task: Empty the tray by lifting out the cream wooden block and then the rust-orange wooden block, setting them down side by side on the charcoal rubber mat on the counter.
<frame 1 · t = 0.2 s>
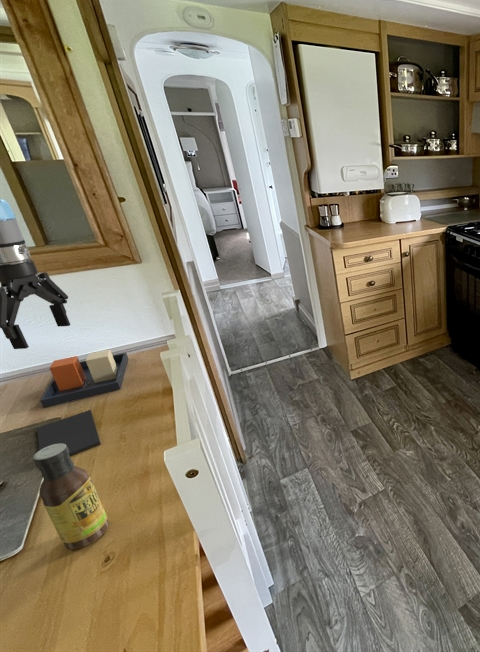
hand: (44, 336, 103), 19 cm above the table, tool pointing down, fingers open, 13 cm apart
tray: (91, 382, 116), on the table
sauce bottle: (89, 535, 71), on the table
mat: (68, 437, 94), on the table
cream block: (106, 377, 118), point 1 cm above the table, touching tray
rust block: (73, 384, 114), point 1 cm above the table, touching tray
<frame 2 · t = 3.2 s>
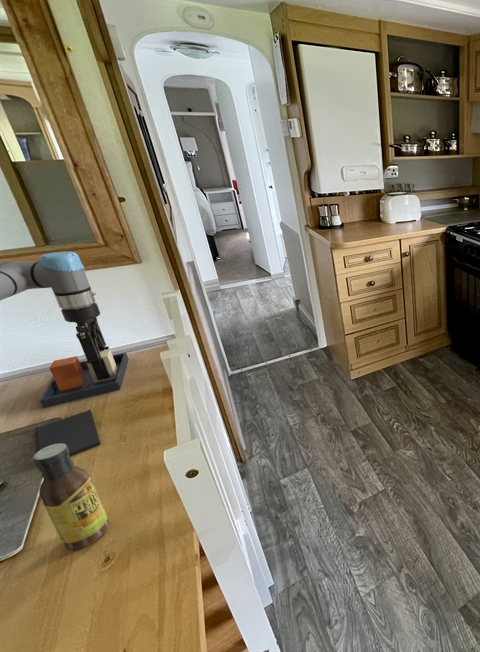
hand: (105, 373, 117), 2 cm above the table, tool pointing down, fingers closed on cream block, 5 cm apart
cream block: (106, 377, 118), point 1 cm above the table, touching gripper, tray
everything else where it was.
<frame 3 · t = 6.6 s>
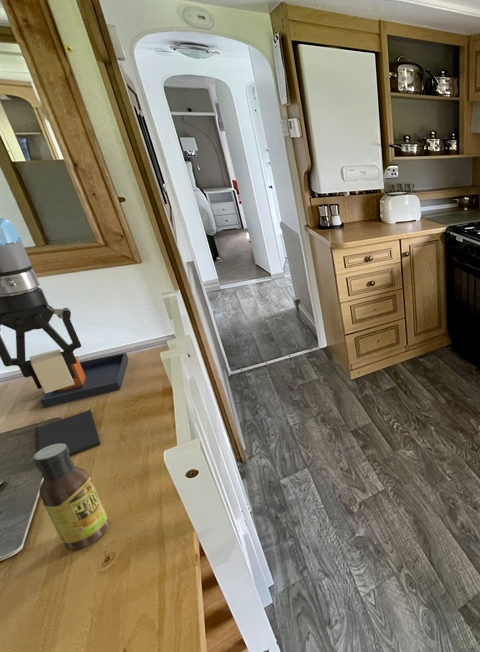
hand: (56, 381, 91), 15 cm above the table, tool pointing down, fingers closed on cream block, 5 cm apart
cream block: (58, 385, 91), point 14 cm above the table, touching gripper
everything else where it was.
when the fingers open (2 cm above the table, at t = 10.3 s): cream block stays where it is, resting on mat.
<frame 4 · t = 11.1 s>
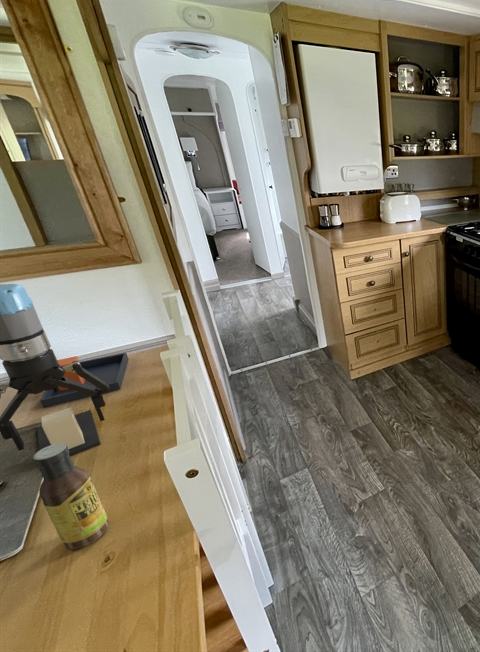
hand: (63, 432, 90), 4 cm above the table, tool pointing down, fingers open, 13 cm apart
cream block: (69, 443, 91), point 1 cm above the table, touching mat
everything else where it was.
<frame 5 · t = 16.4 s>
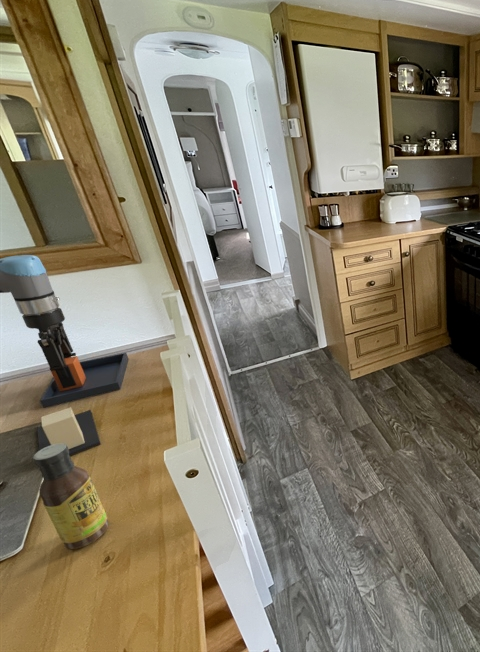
hand: (72, 381, 113), 2 cm above the table, tool pointing down, fingers closed on rust block, 5 cm apart
rust block: (73, 384, 114), point 1 cm above the table, touching gripper, tray
everything else where it was.
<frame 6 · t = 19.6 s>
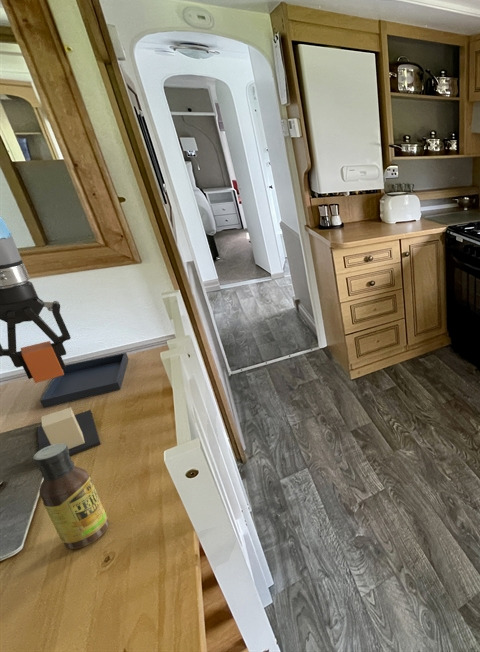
hand: (47, 371, 94), 15 cm above the table, tool pointing down, fingers closed on rust block, 5 cm apart
rust block: (49, 375, 95), point 14 cm above the table, touching gripper
everything else where it was.
when the fingers open (2 cm above the table, at t = 23.2 s): rust block stays where it is, resting on mat.
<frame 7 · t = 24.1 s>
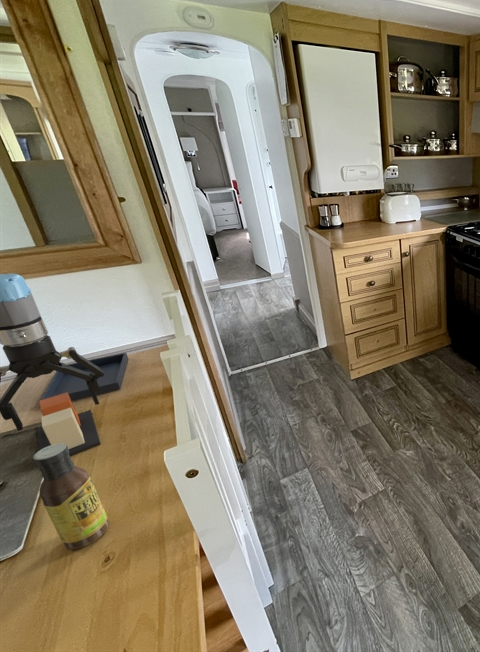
hand: (60, 414, 95), 4 cm above the table, tool pointing down, fingers open, 13 cm apart
rust block: (66, 426, 97), point 1 cm above the table, touching mat
everything else where it was.
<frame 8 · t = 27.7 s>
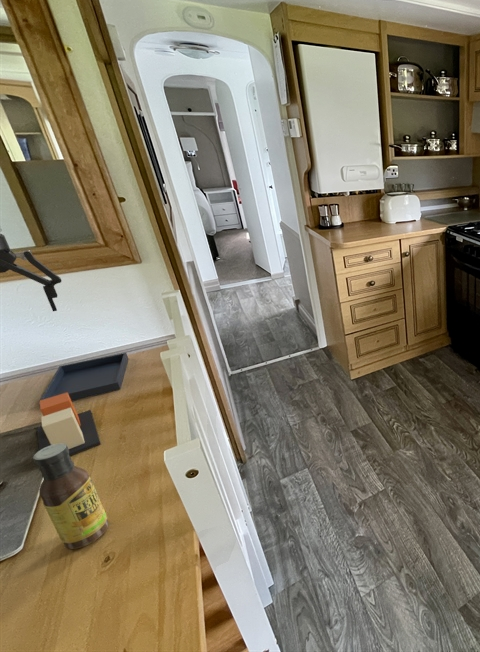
hand: (17, 317, 97), 27 cm above the table, tool pointing down, fingers open, 13 cm apart
nothing on the table moved.
at the end: cream block inside the target area on the mat (4.6 cm from its centre), point 0.8 cm above the mat's base; rust block inside the target area on the mat (4.4 cm from its centre), point 0.8 cm above the mat's base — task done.
